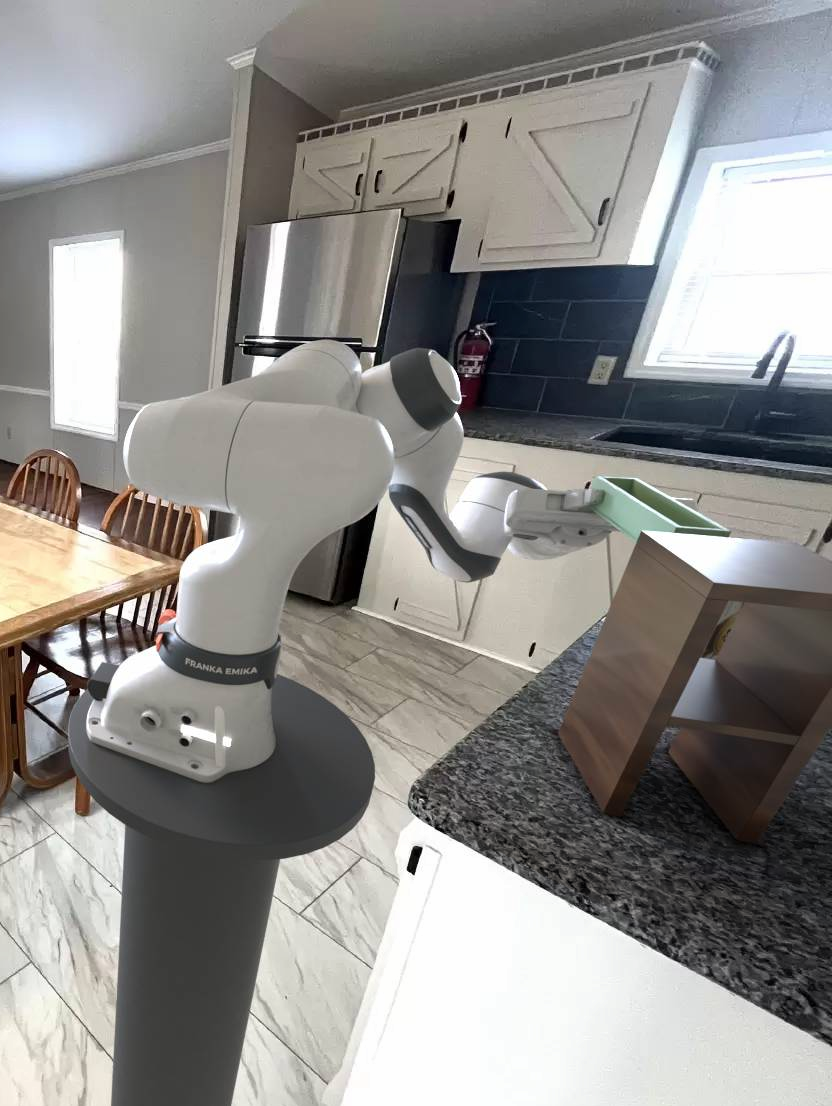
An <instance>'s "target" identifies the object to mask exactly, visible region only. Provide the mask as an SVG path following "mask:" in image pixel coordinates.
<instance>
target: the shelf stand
mask: <svg viewBox="0 0 832 1106" xmlns="http://www.w3.org/2000/svg"><path fill="white" fill-rule="evenodd" d="M742 538H743V537H741V538H738V537H730V536H729V537H717V536H704V535H691V534H678V533H665V532H652V531H641V533H640V535H639V537H638V540H637V542H636V543H635V545H634V547H633V549H632V552H631V555H630V557H629V559H628V562H627V564H626V566H625V568H624V571H623V574H622V576H621V579H620V581H619V584H618V586H617V588H616V590H615V593H614V595H613V598H612V601H611V603H610V606H609V608H608V611H607V612H606V615H605V618H604V620H603V622H602V624H601V627H600V630H599V633H598V635H597V637H596V639H595V642H594V644H593V647H592V649H591V652H590V654H589V657H588V659H587V661H586V664H585V667H584V669H583V671H582V673H581V675H580V679H579V681H578V684H577V686H576V688H575V690H574V692H573V696H572V698H571V700H570V703H569V705H568V707H567V710H566V712H565V715H564V718H563V720H562V722H561V725H560V727H559V729H558V732H557V735H558V737H559V738H560V741H561V742H562V744H563V746H564V747H565V749H566V751H567V752H568V754H569V756H570V758H571V759H572V762H573V763H574V765H575V767H576V769H577V770H578V772H579V774H580V775H581V777H582V779H583V782H584V783H585V784H586V786H587V788H588V790H589V792H590V793H591V794H592V796H593V799H594V800H595V802H596V804H597V805H598V807H599V809H600V811H601V813H602V814H605V815H610V816H615V817H622V815H623V813H624V811H625V809H626V807H627V805H628V803H629V801H630V800H631V797H632V796H633V793H634V791H635V789H636V787H637V785H638V783H639V781H640V779H641V777H642V775H643V774H644V771H645V769H646V767H647V766H648V763H649V761H650V759H651V757H652V755H653V753H654V751H655V749H656V747H657V745H658V744H659V741H660V739H661V737H662V735H663V733H664V731H665V729H666V727H667V726H672V727H673V726H674V727H677V728H679V730H678V732H677V734H676V736H675V738H674V740H673V742H672V744H671V745H670V747H669V750H668V752H667V753H668V755H670V757H671V758H672V760H673V761H674V762H675V764H677V766H678V767H679V768H680V770H681V771H682V773H684V775H685V776H686V778H687V779H688V780H689V781H690V782H691V784H692V785H693V786H694V788H695V789H696V790H697V791H698V793H699V794H700V795H701V797H702V798H703V799H704V801H706V803H707V804H708V805H709V807H710V808H711V809H712V811H713V812H714V814H716V816H717V817H718V818H719V819H720V821H721V822H722V823H723V825H724V826H725V827H726V828H727V831H729V832H730V833H731V835H732V836H733V837H734V838H735V840H736V841H739V842H745V843H750V844H757V843H758V842H759V841H760V839H761V838H762V836H763V834H764V833H765V831H766V829H768V826H769V825H770V823H771V822H772V820H773V819H774V817H775V815H776V814H777V813H778V811H779V810H780V808H781V806H782V805H783V803H784V801H785V800H786V799H787V797H788V795H789V794H790V792H791V791H792V789H793V787H794V785H796V783H797V781H798V780H799V778H800V776H801V775H802V774H803V772H804V770H805V769H806V767H807V765H808V764H809V762H810V761H811V759H812V758H813V756H814V754H815V753H816V752H817V750H818V748H819V747H820V746H821V744H822V742H823V741H824V739H825V737H826V736H827V735H828V734H829V733H828V732H829V731H830V730H831V728H832V560H831V559H829V558H828V557H827V558H826V557H825V556H823V555H821V554H819V553H817V552H815V551H814V550H811V549H810V548H807V547H805V546H804V545H801V544H800V543H797V542H792V541H779V540H767V539H754V538H746V539H742ZM728 601H738V602H745V603H744V605H743V607H742V609H741V611H740V613H739V615H738V617H737V619H736V621H735V623H734V625H733V627H732V629H731V631H730V633H729V634H728V636H727V638H726V640H725V642H724V644H723V646H722V648H721V650H720V652H719V654H718V656H717V658H716V660H713V659H706V658H700V657H701V655H702V653H703V651H704V649H705V647H706V645H707V643H708V641H709V639H710V637H711V635H712V633H713V631H714V629H715V627H716V625H717V623H718V621H719V619H720V617H721V615H722V613H723V611H724V609H725V607H726V605H727V603H728Z"/></svg>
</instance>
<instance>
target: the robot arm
mask: <svg viewBox="0 0 832 1106" xmlns="http://www.w3.org/2000/svg"><path fill="white" fill-rule="evenodd" d="M461 403H462V395H461V385H460V381H459V377H458V375H457V372H456V370H455V369H454V367H453V366H452V365H451V363H450V362H449V361H448V360H447V359H446V358H444V357H443V356H441V355H440V354H439V353H438V352H437V351H436V350H435V349H431V348H424V347H423V348H422V347H415V348H412V349H409V350H406V351H403V352H401V353H398V354H395V355H394V356H392V357H391V358H390V360H389V361H387V362H385V363H382V364H379V365H376V366H372V367H371V368H368V369H366V370H365V371H363V369H362V364H361V362H360V359H359V357H358V356H357V354H356V352H355V351H354V350H353V349H352V348H351V347H349V346H348V345H346V344H345V343H343V342H341V341H337V340H333V339H319V340H313V341H309V342H306V343H304V344H300V345H299V346H296V347H294V348H292V349H290V350H289V351H287V352H285V353H284V354H282V355H281V356H280V357H278V358H277V359H276V360H275V361H273V362H272V363H270V365H269V366H267V367H266V368H265V369H263V370H262V371H260V373H258V374H256V375H254V376H250V377H247V378H243V379H239V380H237V381H233V382H230V383H228V384H223V385H220V386H217V387H215V388H212V389H209V390H206V391H203V392H200V393H195V394H192V395H187V396H182V397H177V398H171V399H166V400H160V401H155V402H151V403H148V404H146V405H145V406H144V407H142V409H140V411H138V413H137V414H136V415H135V416H134V418H133V419H132V421H131V422H130V425H129V427H128V429H127V431H126V435H125V438H124V441H123V450H122V451H123V452H122V453H123V454H122V456H123V458H122V459H123V464H124V465H123V466H124V469H125V472H126V475H127V477H128V479H129V481H130V483H131V484H132V486H133V487H134V488H135V489H136V490H137V491H139V492H142V493H145V494H147V495H149V496H151V497H154V498H157V499H159V500H162V501H165V502H168V503H171V504H173V505H177V506H185V507H191V508H197V509H202V510H210V511H216V512H222V513H228V514H233V515H236V516H238V517H239V529H238V532H237V533H236V534H234V535H231V536H228V537H223V538H219V539H216V540H213V541H211V542H207V543H205V544H203V545H201V546H199V547H197V548H195V549H194V550H193V551H192V552H191V553H189V555H188V556H187V557H186V559H184V561H183V564H182V565H181V567H180V571H179V579H178V590H177V603H176V611H175V610H173V609H169V608H167V609H164V610H163V611H162V612H161V614H160V617H159V619H158V625H159V626H158V628H157V632H156V638H155V644H154V645H152V646H151V647H149V648H147V649H145V650H142V651H140V652H138V653H135V654H133V655H130V656H129V657H126V659H125V660H124V661H123V662H122V663H121V664H120V665H118V664H114V663H109V662H104V661H102V662H101V663H100V664H99V665H98V667H97V669H96V670H95V671H94V673H93V675H92V676H91V677H90V678H89V679H88V681H87V684H86V686H87V689H88V691H89V693H90V696H92V697H93V698H94V700H93V702H92V704H91V706H90V708H89V711H88V715H87V722H86V731H87V735H88V737H89V739H90V741H92V742H93V743H96V744H98V745H101V746H103V747H106V748H109V749H112V750H114V751H117V752H120V753H123V754H125V755H128V756H131V757H134V758H136V759H139V760H142V761H145V762H147V763H150V764H153V765H156V766H158V767H161V768H164V769H167V770H169V771H172V772H175V773H178V774H180V775H183V776H186V777H189V778H191V779H194V780H197V781H200V782H204V783H209V782H213V781H215V780H217V779H219V778H221V777H222V776H224V775H225V774H227V773H230V772H234V771H240V770H245V769H249V768H252V767H255V766H257V765H259V764H261V763H263V762H264V761H266V760H267V759H268V758H269V757H270V756H271V755H272V753H273V751H274V749H275V745H276V739H275V734H274V730H273V722H272V708H271V695H272V686H273V684H274V681H275V679H276V677H277V674H278V672H279V666H280V661H281V654H282V646H281V645H282V635H281V634H280V632H279V630H280V625H281V620H282V615H283V611H284V607H285V602H286V598H287V595H288V590H289V587H290V583H291V581H292V578H293V576H294V574H295V572H296V570H297V568H298V567H299V565H300V563H301V562H302V561H303V559H304V558H305V557H306V556H307V555H308V553H310V552H311V550H312V549H313V548H315V546H317V545H318V544H319V543H320V542H321V541H323V540H324V539H326V538H327V537H329V536H330V535H332V534H333V533H335V532H337V531H339V530H340V529H344V528H346V527H348V526H350V525H353V524H354V523H356V522H358V521H361V519H363V518H364V517H365V516H367V515H368V514H370V512H371V511H373V510H374V509H375V508H376V506H377V505H378V504H379V503H380V502H381V500H382V499H383V498H384V496H385V494H386V493H387V490H388V497H389V499H390V502H391V504H392V506H393V507H394V508H395V510H396V511H397V513H398V514H399V515H400V517H401V519H402V520H403V521H404V523H405V524H406V525H407V527H408V529H410V531H411V532H412V534H413V536H415V538H416V539H417V540H418V542H419V543H420V544H421V546H422V547H423V549H424V551H425V554H426V556H427V559H428V562H429V563H430V565H431V566H432V567H433V569H434V570H436V571H437V572H438V573H440V574H442V575H443V576H445V577H446V578H448V579H449V578H450V579H451V580H453V581H456V582H461V583H465V584H466V583H468V584H469V583H473V582H477V581H480V580H484V579H486V578H488V577H491V576H493V575H494V574H495V573H496V570H497V569H498V566H499V564H500V562H501V560H502V557H503V555H504V553H505V551H508V552H509V553H510V554H511V555H513V556H515V557H517V558H519V559H522V560H526V561H547V560H554V559H558V558H561V557H564V556H566V555H568V554H571V553H574V552H578V551H580V550H583V549H586V548H590V547H592V546H595V545H597V544H599V543H601V542H603V541H604V540H605V539H607V538H608V537H609V536H610V535H611V533H612V532H615V533H616V532H617V533H622V532H621V531H619V530H618V529H617V528H615V527H614V526H613V525H611V524H610V523H609V522H607V521H606V520H605V519H604V518H602V517H601V516H600V515H598V514H597V513H596V512H594V511H593V510H592V509H590V508H589V507H588V505H598V504H601V503H602V502H603V500H604V496H603V495H604V490H600V489H591V488H589V489H588V488H570V489H567V490H559V489H557V490H556V489H555V490H554V489H547V488H546V487H545V486H544V485H543V484H542V483H540V482H538V481H536V479H533V478H531V477H530V476H529V477H528V476H526V475H523V474H520V473H517V472H513V471H495V472H488V473H484V474H481V475H477V476H476V477H473V478H471V479H470V481H469V483H468V484H467V485H466V487H465V489H464V491H463V492H462V494H461V495H460V497H459V499H458V500H457V502H456V504H455V506H454V507H453V509H452V511H451V512H450V514H448V513H447V511H446V507H445V500H446V493H447V489H448V485H449V483H450V479H451V477H452V474H453V471H454V469H455V467H456V464H457V461H458V459H459V456H460V454H461V451H462V448H463V444H464V439H465V436H464V435H465V433H464V427H463V424H462V421H461V418H460V416H459V414H458V413H457V412H458V410H459V408H460V405H461ZM672 498H673V499H675V500H677V501H679V502H680V503H682V504H684V505H686V506H687V507H689V508H691V509H693V510H695V511H696V512H698V513H699V503H698V502H697V500H695V499H693V498H682V497H681V498H680V497H678V498H677V497H672Z"/></svg>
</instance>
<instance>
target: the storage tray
mask: <svg viewBox="0 0 832 1106" xmlns="http://www.w3.org/2000/svg"><path fill="white" fill-rule="evenodd" d="M590 489H600V490H604V495H603V496H604V500H603V502H602V503H601V504H598V505H588V507H589V508H590V509H592V510H593V511H594V512H596V513H597V514H598V515H600V516H601V517H602V518H604V519H605V520H606V521H607V522H609V523H610V524H611V525H613V526H614V527H615V528H617V529H618V530H619V531H621V532H620V533H622V534H623V535H625V536H626V537H627V538H628V539H630V540H631V541H632V542H633V543H635V544H636V542H637V540H638V537H639V535H640V533H641V531H652V532H665V533H678V534H691V535H704V536H717V537H729V538H730V536H731V534H732V531H731V530H730V529H728V528H727V527H725V526H723V525H721V524H720V523H718V522H716V521H715V520H712V519H710V518H709V517H707V516H705V515H703V514H702V513H700V512H699V511H698V512H696V511H695V510H693V509H691V508H689V507H687V506H686V505H684V504H682V503H680V502H679V501H677V500H675V499H673V498H674V497H672V496H670V495H668V494H667V493H664V492H663V491H661V490H659V489H657V488H655V486H652V485H650V484H649V483H647V482H645V481H643V480H641V479H640V478H638V477H621V476H620V477H619V476H601V475H596V476H595V477H594V480H593V483H592V485H591V488H590Z"/></svg>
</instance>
